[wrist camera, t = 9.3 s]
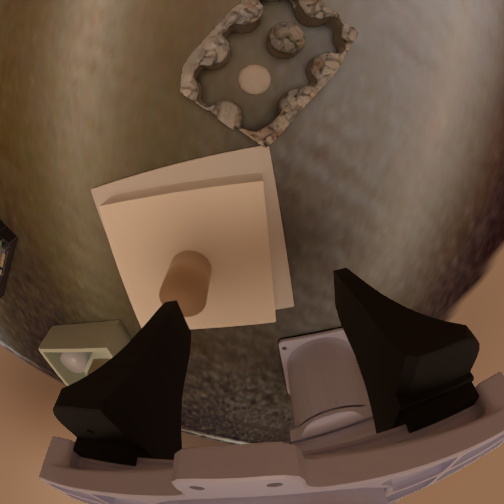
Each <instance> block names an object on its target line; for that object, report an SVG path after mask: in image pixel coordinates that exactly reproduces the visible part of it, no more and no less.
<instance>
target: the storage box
mask: <svg viewBox="0 0 504 504" xmlns="http://www.w3.org/2000/svg"><path fill="white" fill-rule="evenodd" d="M130 341H131V339H130V337H129V336H128V334H127V332H126V330H125V329H124V327H123V325H122V323H121V321H120V320H113V321H103V322H92V323H81V324H68V325H55V326H52V328H51V329H50V331H49V332H48V334H47V335H46V337H45V338H44V340H43V342H42V343H41V345H40V346H39V348H38V350H39V351H40V352H41V354H42V355H43V356H44V358H45V359H46V360H47V362H48V363H49V364H50V366H51V367H52V368H53V370H54V371H55V372H56V373H57V375H58V376H59V377H60V378H61V379H62V381H63V382H64V383H65V384H66V385H67V386H69V385H71V384H73V383H75V382H77V381H79V380H80V379H82V378H84V377H86V376H87V375H89V374H90V373H92V372H94V371H95V370H97V369H98V368H99V367H101V366H102V365H103V364H105V363H106V362H107V361H109V360H110V359H111V358H112V357H114V356H115V355H116V354H117V353H118V352H119V351H120V350H122V349H123V348H124V347H125V346H126V345H127V344H128V343H129V342H130Z"/></svg>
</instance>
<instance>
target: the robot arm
mask: <svg viewBox="0 0 504 504" xmlns="http://www.w3.org/2000/svg"><path fill="white" fill-rule="evenodd" d="M333 272H334V286H335V303H336V309H337V312H338V316H339V319H340V322H341V325H342V327H343V328H339V329H334V330H329V331H324V332H320V333H314V334H309V335H304V336H299V337H293V338H287V339H282V340H280V341H279V350H280V355H281V360H282V365H283V370H284V376H285V381H286V386H287V392H288V394H291V401H292V408H293V416H294V423H295V429H293V430H290V438H291V441H288V442H285V443H284V442H263V443H254V444H243V445H230V446H211V447H191V448H183V449H182V441H181V408H182V393H183V387H184V381H185V376H186V371H187V365H188V360H189V354H190V345H191V331H190V329H189V327H188V325H187V322H186V320H185V318H184V316H183V313H182V311H181V309H180V307H179V304H178V302H177V300H175V301H169V302H165V303H164V304H163V305H162V306H161V307H160V308H159V309H158V310H157V311H156V312H155V314H154V315H153V316H152V317H151V318H150V320H149V321H148V322H147V323H146V324H145V325H144V326H143V328H142V329H141V330H140V331H139V332H138V333H137V334H136V335H135V336H134V337H133V339H132V340H131V341H130V342H129V343H128V344H127V345H126V346H125V347H124V348H123V349H122V350H120V351H119V352H118V353H117V354H116V355H115V356H114V357H112V358H111V359H110V360H109V361H107V362H106V363H105V364H103V365H102V366H101V367H99V368H98V369H97V370H95V371H94V372H92V373H90V374H89V375H87V376H86V377H84V378H82V379H80V380H79V381H77V382H75V383H73V384H71V385H69V386H67V387H65V388H62V390H61V392H60V394H59V396H58V399H57V401H56V403H55V406H54V408H53V412H54V415H55V416H56V418H57V419H58V420H59V421H60V422H61V423H62V424H63V425H64V426H65V427H66V428H67V429H68V430H70V431H71V432H72V433H73V434H74V435H75V436H76V437H77V439H76V442H73V441H71V440H69V439H64V438H60V437H56V436H53V437H52V440H51V443H50V446H49V448H48V451H47V454H46V457H45V460H44V463H43V466H42V469H41V472H40V475H39V478H40V479H41V480H42V481H44V482H46V483H47V484H49V485H50V486H52V487H54V488H55V489H57V490H59V491H61V492H63V493H64V494H66V495H68V496H70V497H71V498H73V499H76V500H79V501H82V502H85V503H88V504H397V502H398V501H399V500H400V499H401V498H402V497H405V496H407V495H410V494H412V493H414V492H417V491H419V490H421V489H423V488H425V487H428V486H429V485H432V484H434V483H436V482H438V481H440V480H442V479H444V478H445V477H448V476H449V475H451V474H453V473H455V472H457V471H459V470H460V469H462V468H464V467H465V466H467V465H469V464H471V463H472V462H474V461H476V460H477V459H479V458H481V457H482V456H484V455H486V454H487V453H489V452H491V451H492V450H494V449H495V448H497V447H498V446H500V445H501V444H502V443H503V442H504V376H503V374H502V373H501V372H498V373H497V374H495V375H493V376H491V377H490V378H488V379H486V380H484V381H482V382H481V383H479V384H478V385H477V386H476V387H474V385H473V384H472V381H473V380H474V377H473V375H472V374H471V372H470V371H471V368H472V366H473V364H474V362H475V360H476V358H477V355H478V352H479V342H478V341H477V339H476V338H475V336H474V335H473V334H472V332H471V331H470V330H469V329H468V327H467V326H466V325H462V324H456V323H451V322H446V321H442V320H439V319H435V318H432V317H429V316H426V315H423V314H421V313H418V312H415V311H413V310H411V309H408V308H406V307H404V306H402V305H400V304H398V303H396V302H394V301H393V300H391V299H389V298H388V297H386V296H384V295H383V294H381V293H380V292H378V291H377V290H375V289H374V288H372V287H371V286H370V285H368V284H367V283H365V282H364V281H363V280H362V279H360V278H359V277H358V276H356V275H355V274H354V273H352V272H351V271H350V270H349V269H347V268H344V269H339V270H335V271H333ZM283 347H284V348H283ZM356 359H357V361H358V364H359V366H358V364H357V361H356ZM359 367H360V369H361V372H360V369H359ZM361 373H362V375H361ZM362 376H363V378H362ZM363 379H364V380H363Z"/></svg>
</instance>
